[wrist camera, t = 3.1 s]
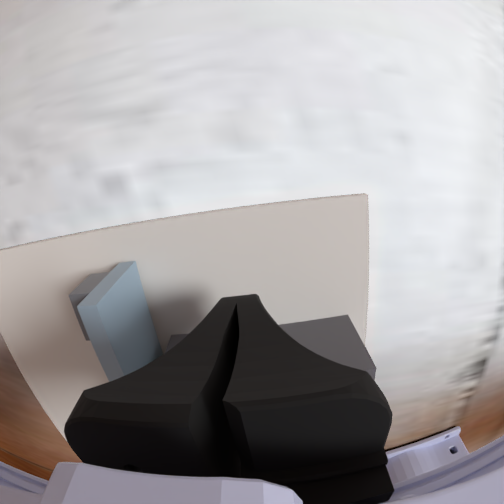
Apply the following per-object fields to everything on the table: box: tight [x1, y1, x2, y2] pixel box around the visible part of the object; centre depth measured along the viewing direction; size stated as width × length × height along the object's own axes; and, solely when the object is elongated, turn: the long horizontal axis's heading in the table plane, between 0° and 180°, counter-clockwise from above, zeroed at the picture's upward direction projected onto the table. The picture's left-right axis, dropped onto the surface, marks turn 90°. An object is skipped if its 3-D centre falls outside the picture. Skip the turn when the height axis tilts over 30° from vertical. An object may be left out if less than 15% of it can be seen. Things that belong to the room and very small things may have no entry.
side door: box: [69, 261, 163, 382], centre depth 13 cm, size 2×14×4 cm, turn 7°
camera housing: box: [164, 314, 376, 380], centre depth 13 cm, size 9×9×5 cm
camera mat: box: [0, 193, 369, 441], centre depth 15 cm, size 22×17×1 cm
